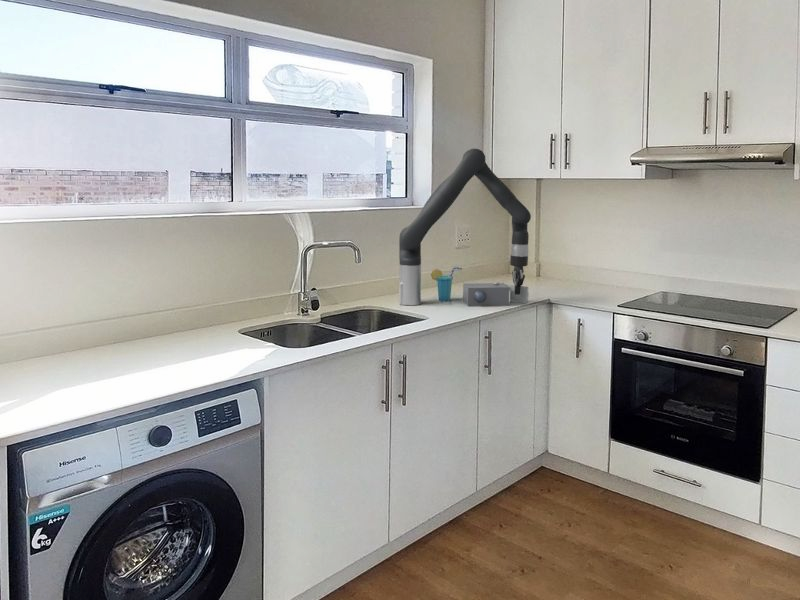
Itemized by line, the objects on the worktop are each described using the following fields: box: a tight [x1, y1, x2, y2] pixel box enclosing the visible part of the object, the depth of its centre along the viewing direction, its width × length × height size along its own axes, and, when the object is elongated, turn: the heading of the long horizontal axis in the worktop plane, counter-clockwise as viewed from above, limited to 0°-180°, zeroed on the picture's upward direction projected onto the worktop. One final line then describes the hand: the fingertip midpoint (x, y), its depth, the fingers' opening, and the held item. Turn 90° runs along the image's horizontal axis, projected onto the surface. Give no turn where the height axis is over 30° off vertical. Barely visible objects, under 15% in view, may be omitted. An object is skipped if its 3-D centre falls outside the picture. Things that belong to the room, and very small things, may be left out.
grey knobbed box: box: [462, 281, 511, 307], centre depth 298 cm, size 18×14×9 cm
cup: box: [430, 266, 462, 302], centre depth 306 cm, size 14×8×15 cm, turn 104°
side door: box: [505, 283, 529, 304], centre depth 303 cm, size 1×12×7 cm, turn 52°
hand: (517, 294), depth 299 cm, fingers closed
